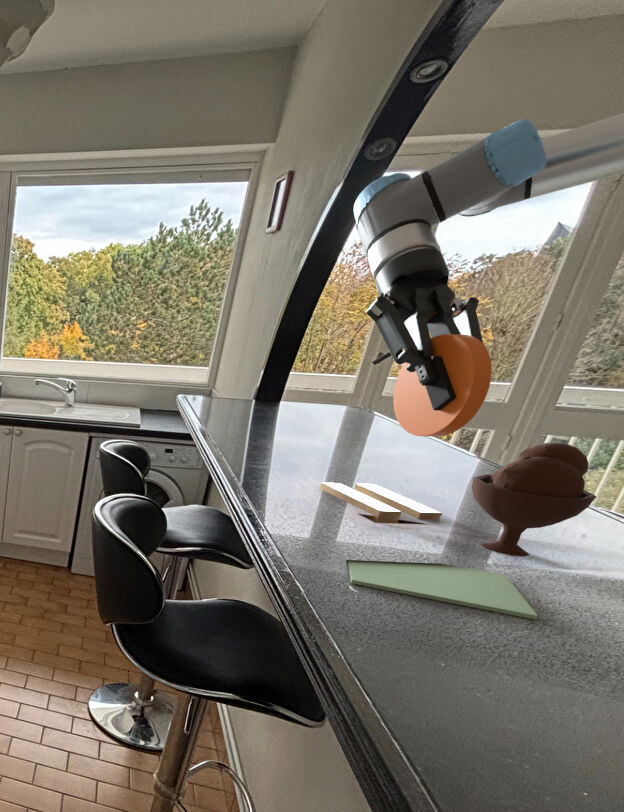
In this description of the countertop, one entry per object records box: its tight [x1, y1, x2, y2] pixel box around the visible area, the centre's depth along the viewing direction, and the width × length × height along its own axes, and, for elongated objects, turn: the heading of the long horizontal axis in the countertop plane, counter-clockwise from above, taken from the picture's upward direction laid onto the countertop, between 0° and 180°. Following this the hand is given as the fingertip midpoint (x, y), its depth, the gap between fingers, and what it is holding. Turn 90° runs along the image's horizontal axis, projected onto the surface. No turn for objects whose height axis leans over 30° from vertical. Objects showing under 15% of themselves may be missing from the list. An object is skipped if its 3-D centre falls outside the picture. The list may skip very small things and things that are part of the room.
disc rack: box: [319, 482, 443, 526], centre depth 93 cm, size 9×15×3 cm, turn 175°
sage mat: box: [345, 559, 539, 621], centre depth 70 cm, size 16×12×1 cm
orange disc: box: [393, 334, 493, 438], centre depth 77 cm, size 2×13×13 cm, turn 175°
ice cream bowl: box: [471, 441, 597, 557], centre depth 75 cm, size 11×11×15 cm
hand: (456, 404), depth 75 cm, fingers closed on orange disc, 2 cm apart
